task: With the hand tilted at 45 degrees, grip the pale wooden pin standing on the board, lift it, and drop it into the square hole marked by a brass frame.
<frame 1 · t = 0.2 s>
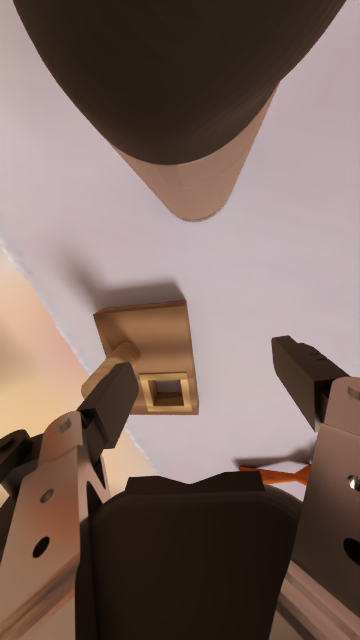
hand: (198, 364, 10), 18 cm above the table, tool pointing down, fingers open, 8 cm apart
maraca: (287, 462, 38), on the table
pin: (128, 353, 29), point 3 cm above the table, touching pin board
pin board: (154, 358, 33), on the table
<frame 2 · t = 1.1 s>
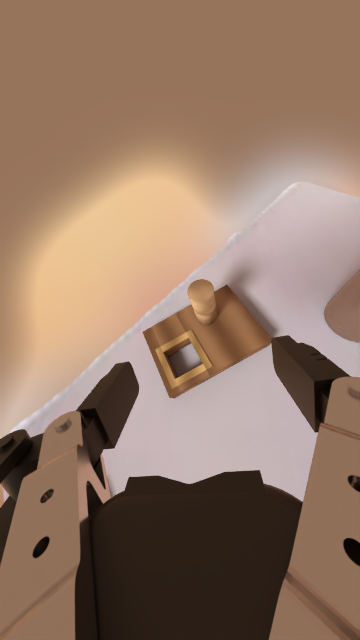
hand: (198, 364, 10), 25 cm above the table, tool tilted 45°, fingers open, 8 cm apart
pin: (206, 315, 36), point 3 cm above the table, touching pin board
pin board: (203, 340, 37), on the table
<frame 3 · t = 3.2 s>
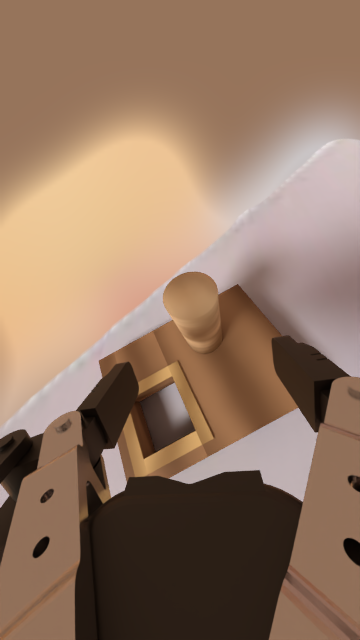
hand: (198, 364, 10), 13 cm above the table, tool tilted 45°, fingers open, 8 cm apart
pin: (204, 336, 21), point 3 cm above the table, touching pin board
pin board: (197, 377, 22), on the table
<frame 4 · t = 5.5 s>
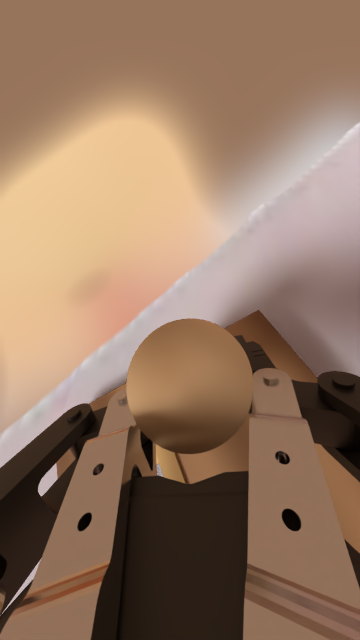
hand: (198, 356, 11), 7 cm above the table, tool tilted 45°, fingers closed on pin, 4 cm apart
pin: (210, 394, 14), point 3 cm above the table, touching gripper, pin board
pin board: (199, 450, 15), on the table
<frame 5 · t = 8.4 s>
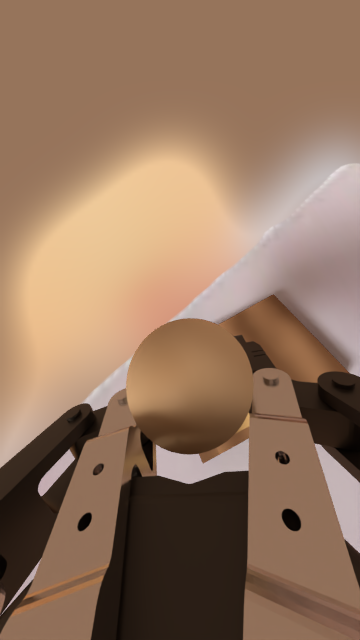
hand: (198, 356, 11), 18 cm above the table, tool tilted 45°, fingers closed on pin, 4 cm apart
pin: (210, 394, 14), point 14 cm above the table, touching gripper
pin board: (241, 371, 27), on the table
when the fingers open (6 cm above the table, at t = 11.3 s): pin drops 2 cm, resting in pin board.
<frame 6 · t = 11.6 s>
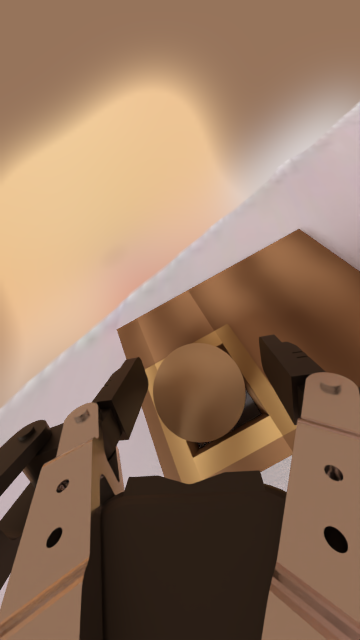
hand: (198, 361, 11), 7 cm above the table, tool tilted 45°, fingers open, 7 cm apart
pin: (212, 397, 16), resting in pin board
pin board: (249, 349, 17), on the table
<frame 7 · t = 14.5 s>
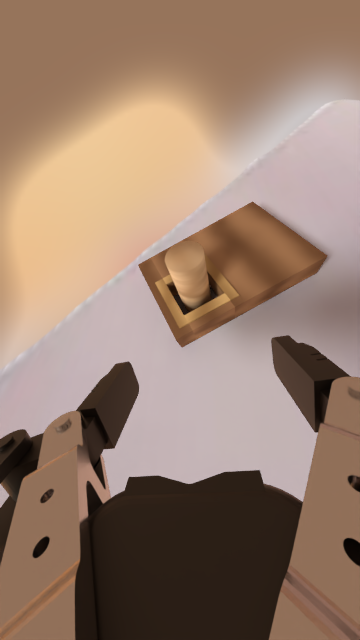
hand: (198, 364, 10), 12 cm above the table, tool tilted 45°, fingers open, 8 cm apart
pin: (197, 301, 26), resting in pin board
pin board: (220, 275, 27), on the table
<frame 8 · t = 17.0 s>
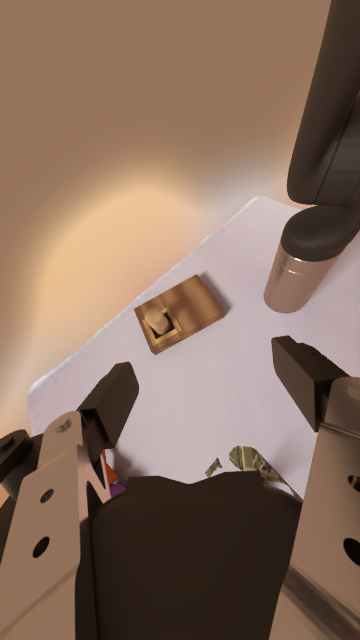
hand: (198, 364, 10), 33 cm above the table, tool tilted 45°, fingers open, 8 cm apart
maraca: (110, 459, 39), on the table
eiffel tower figurine: (254, 490, 32), on the table
pin: (165, 330, 49), resting in pin board
pin board: (178, 315, 50), on the table
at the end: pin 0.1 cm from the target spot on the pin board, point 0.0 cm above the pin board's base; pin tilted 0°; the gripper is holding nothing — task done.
